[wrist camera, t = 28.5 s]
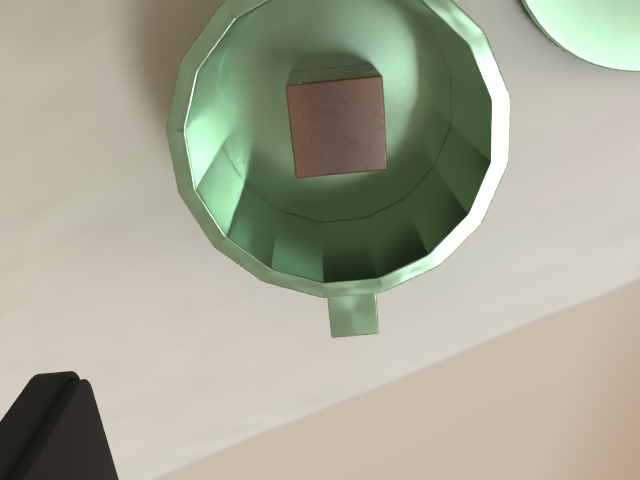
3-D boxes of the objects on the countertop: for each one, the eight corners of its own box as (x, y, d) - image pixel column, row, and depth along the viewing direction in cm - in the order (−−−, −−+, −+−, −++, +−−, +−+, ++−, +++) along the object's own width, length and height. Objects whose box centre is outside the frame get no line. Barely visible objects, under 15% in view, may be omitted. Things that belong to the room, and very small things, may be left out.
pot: (463, -108, 30) (517, -142, 22) (463, 258, 38) (504, 330, 30) (170, -77, 30) (121, -99, 22) (231, 279, 38) (210, 356, 30)
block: (373, 63, 32) (382, 75, 28) (378, 147, 34) (387, 170, 30) (288, 72, 33) (285, 85, 28) (297, 155, 34) (295, 178, 30)
